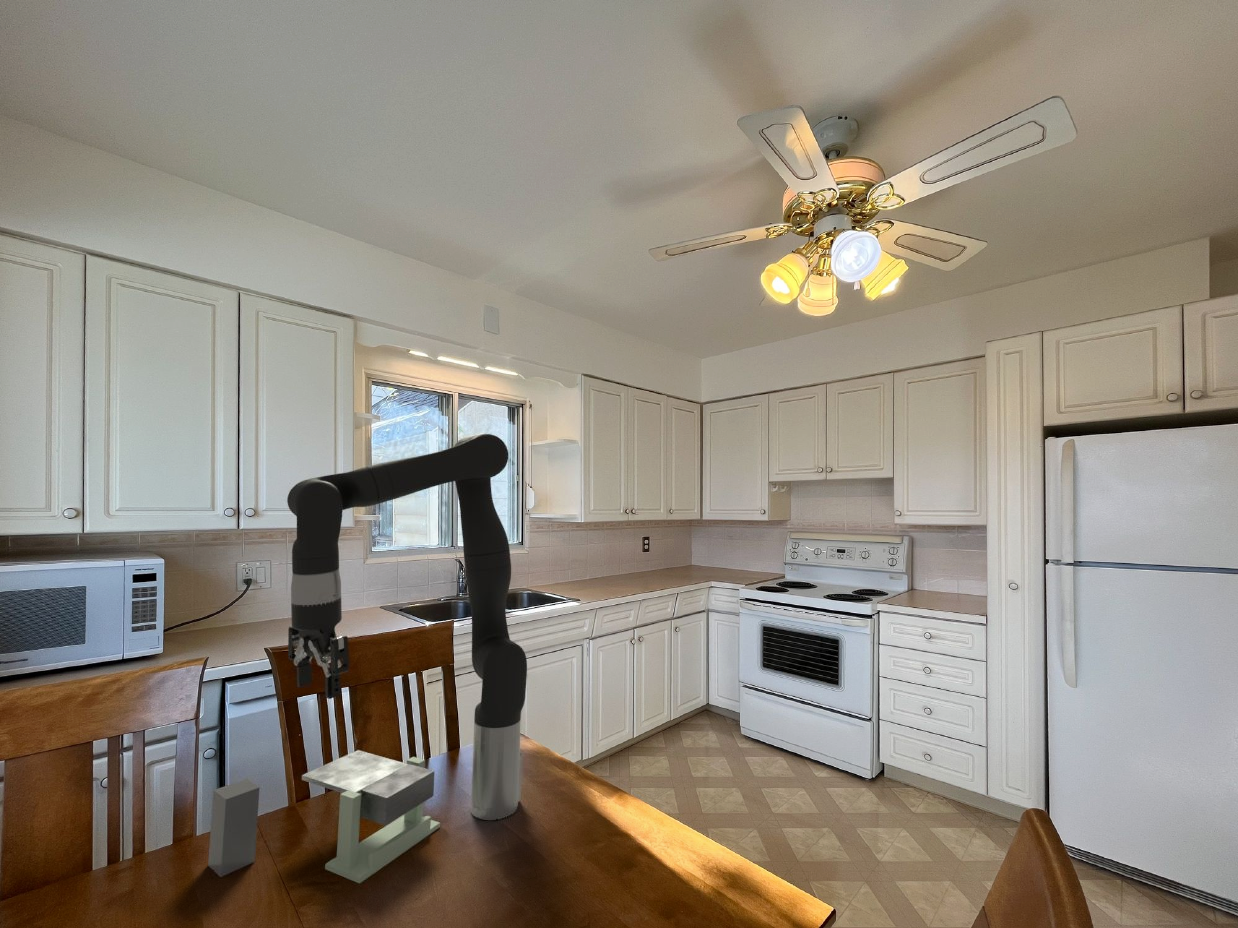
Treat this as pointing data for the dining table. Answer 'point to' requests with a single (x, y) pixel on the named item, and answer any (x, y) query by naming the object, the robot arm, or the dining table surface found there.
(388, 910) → the dining table surface
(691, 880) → the dining table surface
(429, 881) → the dining table surface
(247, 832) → the basalt block
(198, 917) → the dining table surface
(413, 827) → the frame
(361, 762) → the trapdoor
